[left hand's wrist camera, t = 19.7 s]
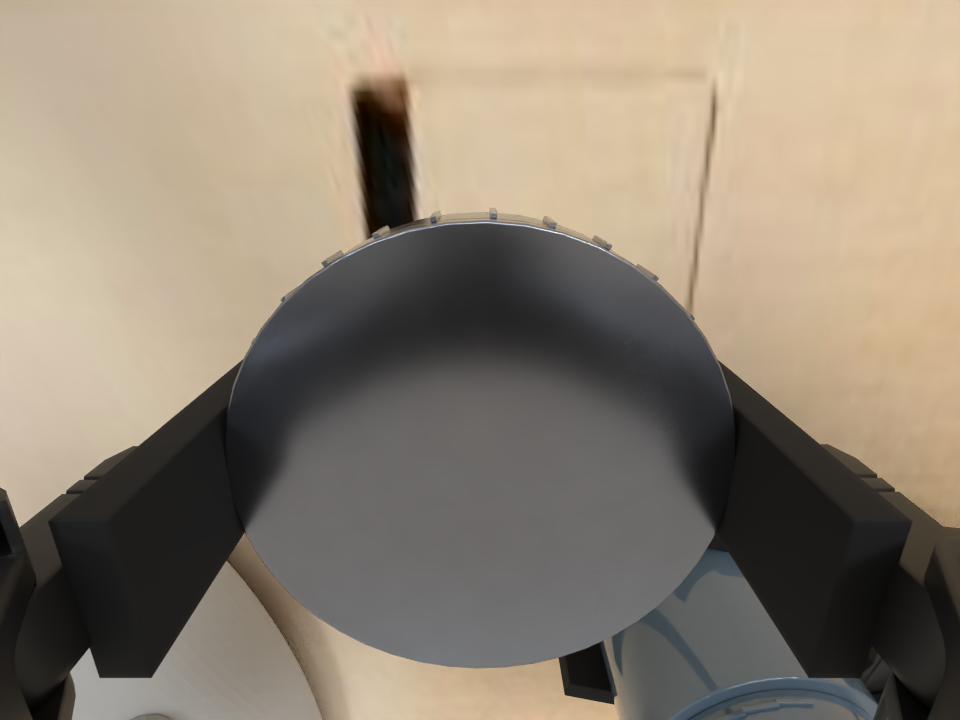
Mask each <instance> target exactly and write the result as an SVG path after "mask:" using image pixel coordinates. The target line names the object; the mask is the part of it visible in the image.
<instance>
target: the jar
mask: <svg viewBox="0 0 960 720" xmlns="http://www.w3.org/2000/svg"><path fill="white" fill-rule="evenodd" d="M599 644H600V648H601V652H602V656H603V660H604V664H605V668H606V672H607V676H608V680H609V684H610V688H611V692H612V695H613V699H614V703H615V707H616V711H617V715H618V719H619V720H873V718H874V716H875V713H876V710H877V707H878V702H877V701H876V699H875V698H874V697H873V695H872V694H871V693H870V691H869V690H868V689H867V687H866V686H865V685H864V683H863V682H862V680H861V679H860V678H808V676H807V674H806V673H805V671H804V670H803V668H802V667H801V665H800V663H799V662H798V660H797V659H796V657H795V656H794V654H793V653H792V651H791V649H790V648H789V646H788V645H787V643H786V642H785V640H784V638H783V637H782V635H781V634H780V632H779V631H778V629H777V627H776V626H775V624H774V623H773V621H772V620H771V618H770V616H769V615H768V613H767V612H766V610H765V609H764V607H763V605H762V604H761V602H760V601H759V599H758V598H757V596H756V594H755V593H754V591H753V590H752V588H751V587H750V585H749V583H748V582H747V580H746V579H745V577H744V576H743V574H742V573H741V571H740V569H739V568H738V566H737V565H736V563H735V562H734V560H733V558H732V557H731V555H730V554H729V552H725V551H721V550H716V549H712V548H708V547H707V549H706V550H705V552H704V554H703V555H702V557H701V559H700V560H699V562H698V563H697V565H696V566H695V567H694V568H693V569H692V571H691V572H690V573H689V574H688V576H687V577H686V578H685V579H684V581H683V582H682V583H681V584H680V585H679V586H678V587H677V588H676V589H675V590H674V591H673V592H672V593H671V594H670V595H669V596H668V597H667V598H666V599H665V600H664V601H663V602H662V603H661V604H660V605H658V606H657V607H656V608H654V609H653V610H652V611H650V612H649V613H648V614H646V615H645V616H644V617H642V618H641V619H640V620H639V621H637V622H636V623H634V624H632V625H631V626H629V627H627V628H626V629H624V630H622V631H621V632H619V633H617V634H616V635H614V636H612V637H610V638H608V639H605V640H603V641H601V642H599Z"/></svg>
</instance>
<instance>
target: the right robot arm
mask: <svg viewBox="0 0 960 720" xmlns="http://www.w3.org/2000/svg"><path fill="white" fill-rule="evenodd" d="M944 528H946V529H947V530H948V531H949V532H951V533H952V534H953V535H960V528H951V527H944ZM708 548H712V549H716V550H721V551H725V552H728V551H727V549H726V547H725V546H724V544H723V543H722V541H721V540H720V538H719V536H718V535H717V533H715V535H714V537H713V539H712V541H711V542H710V544H709V546H708ZM559 662H560V668H561V674H562V680H563V686H564V692H565V695H567V696H573V697H578V698H583V699H588V700H594V701H599V702H604V703H609V704H615V703H614V699H613V695H612V692H611V688H610V684H609V680H608V676H607V672H606V668H605V664H604V660H603V656H602V652H601V648H600V644H599V643H597V644H595V645H592V646H590V647H588V648H586V649H583V650H580V651H577V652H574V653H571V654H568V655H565V656H562V657H559ZM890 670H891V669H890V668H889V666H888V665H887V664H886V663H885V661H884V660H883V659H882V658H881V656H880V655H879V654H878V653H877V652H876V650H875V649H874V648H873V647H872V646H871V649H870V652H869V655H868V658H867V661H866V664H865V667H864V670H863V673H862V676H861V678H860V679H861V680H862V682H863V683H864V685H865V686H866V687H867V689H868V690H869V691H870V693H871V694H872V695H873V697H874V698H875V699H876V701H877V702H878V704H879V701H880V699H881V696H882V693H883V690H884V687H885V685H886V682H887V679H888V676H889V673H890Z"/></svg>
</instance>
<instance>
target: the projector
mask: <svg viewBox="0 0 960 720" xmlns="http://www.w3.org/2000/svg"><path fill="white" fill-rule="evenodd" d="M70 673H71V676H72V679H73V682H74V686H75V693H76V698H75V704H74V710H73V715H72V720H323V719H322V716H321V713H320V710H319V708H318V705H317V703H316V700H315V697H314V695H313V692H312V690H311V688H310V686H309V684H308V681H307V679H306V677H305V675H304V673H303V671H302V669H301V667H300V665H299V663H298V661H297V659H296V658H295V656H294V654H293V652H292V651H291V649H290V647H289V645H288V644H287V642H286V640H285V639H284V637H283V635H282V634H281V632H280V631H279V629H278V628H277V626H276V624H275V623H274V621H273V620H272V618H271V617H270V615H269V614H268V613H267V611H266V610H265V608H264V607H263V605H262V604H261V603H260V601H259V600H258V598H257V597H256V596H255V595H254V593H253V592H252V591H251V589H250V588H249V587H248V585H247V584H246V583H245V581H244V580H243V579H242V578H241V577H240V576H239V574H238V573H237V572H236V571H235V570H234V568H233V567H232V566H231V565H230V564H229V563H228V562H227V561H226V562H225V564H224V565H223V567H222V568H221V570H220V571H219V573H218V575H217V576H216V578H215V579H214V581H213V582H212V584H211V586H210V587H209V589H208V590H207V592H206V593H205V595H204V597H203V598H202V600H201V601H200V603H199V604H198V606H197V608H196V609H195V611H194V612H193V614H192V615H191V617H190V619H189V620H188V622H187V623H186V625H185V626H184V628H183V630H182V631H181V633H180V634H179V636H178V637H177V639H176V641H175V642H174V644H173V645H172V647H171V648H170V650H169V652H168V653H167V655H166V656H165V658H164V659H163V661H162V663H161V664H160V666H159V667H158V669H157V670H156V672H155V673H154V675H153V677H152V678H99V675H98V672H97V669H96V666H95V663H94V660H93V657H92V654H91V651H90V648H89V649H88V650H87V651H86V653H85V654H84V655H83V656H82V658H81V659H80V660H79V661H78V663H77V664H76V665H75V666H74V668H73V669H72V670H71V671H70Z"/></svg>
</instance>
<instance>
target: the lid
mask: <svg viewBox="0 0 960 720" xmlns="http://www.w3.org/2000/svg"><path fill="white" fill-rule="evenodd" d="M372 236H373V237H372V238H370V239H368V240H366V241H364V242H362V243H360V244H358V245H357V246H355V247H354V248H352V249H351V250H349V251H348V252H346V253H345V254H343V252H342V251H341V250H340V251H339V252H337V253H336V254H334V255H332V256H331V257H329V258H328V259H326V260H324V261H323V262H322V265H323V266H324V268H322V269H321V270H320V271H318V272H317V273H315V274H314V275H312V276H311V277H309V278H308V279H307V280H306V281H305V282H304V283H302V284H301V285H300V286H298V287H297V288H295V289H294V290H292V291H291V292H290V293H288V294H287V295H285V296H284V297H283V298H282V299H281V301H282V303H281V304H280V306H279V307H278V308H277V309H276V311H275V312H274V313H273V314H272V316H271V317H270V318H269V319H268V320H267V322H266V323H265V324H264V325H263V327H262V328H261V329H260V331H259V333H258V335H257V336H256V338H255V339H254V340H253V342H252V345H251V347H250V348H249V350H248V352H247V354H246V355H245V357H244V360H243V362H242V365H241V367H240V370H239V372H238V375H237V377H236V380H235V383H234V385H233V389H232V393H231V398H230V402H229V407H228V411H227V416H226V431H225V446H224V448H225V459H226V466H227V472H228V478H229V483H230V488H231V493H232V498H233V503H234V506H235V509H236V511H237V514H238V516H239V519H240V521H241V524H242V526H243V529H244V531H245V533H246V535H247V537H248V538H249V540H250V542H251V544H252V546H253V547H254V549H255V551H256V553H257V554H258V556H259V557H260V559H261V560H262V561H263V563H264V564H265V565H266V567H267V568H268V569H269V571H270V572H271V573H272V575H273V576H274V577H275V579H276V580H277V581H278V582H279V583H280V584H281V585H282V586H283V587H284V588H285V589H286V590H287V591H288V592H289V593H290V594H291V595H292V596H293V597H294V598H295V599H296V600H297V601H298V602H300V603H301V604H302V605H303V606H304V607H306V608H307V609H308V610H309V611H311V612H312V613H313V614H314V615H315V616H317V617H318V618H320V619H321V620H323V621H324V622H326V623H327V624H329V625H331V626H332V627H334V628H335V629H337V630H338V631H340V632H342V633H344V634H346V635H348V636H350V637H352V638H354V639H356V640H358V641H360V642H362V643H364V644H366V645H368V646H371V647H374V648H376V649H379V650H381V651H384V652H387V653H389V654H392V655H396V656H399V657H403V658H407V659H411V660H414V661H418V662H423V663H430V664H436V665H442V666H449V667H464V668H499V667H511V666H518V665H526V664H533V663H537V662H542V661H546V660H550V659H555V658H559V657H562V656H565V655H568V654H571V653H574V652H577V651H580V650H583V649H586V648H588V647H590V646H592V645H595V644H597V643H599V642H601V641H603V640H605V639H608V638H610V637H612V636H614V635H616V634H617V633H619V632H621V631H622V630H624V629H626V628H627V627H629V626H631V625H632V624H634V623H636V622H637V621H639V620H640V619H641V618H642V617H644V616H645V615H646V614H648V613H649V612H650V611H652V610H653V609H654V608H656V607H657V606H658V605H660V604H661V603H662V602H663V601H664V600H665V599H666V598H667V597H668V596H669V595H670V594H671V593H672V592H673V591H674V590H675V589H676V588H677V587H678V586H679V585H680V584H681V583H682V582H683V581H684V579H685V578H686V577H687V576H688V574H689V573H690V572H691V571H692V569H693V568H694V567H695V566H696V565H697V563H698V562H699V560H700V559H701V557H702V555H703V554H704V552H705V550H706V549H707V547H708V546H709V544H710V542H711V541H712V539H713V537H714V535H715V533H716V530H717V528H718V526H719V524H720V521H721V519H722V517H723V515H724V512H725V509H726V505H727V501H728V496H729V491H730V486H731V481H732V475H733V470H734V464H735V458H736V425H735V419H734V413H733V408H732V402H731V396H730V393H729V390H728V387H727V384H726V381H725V378H724V375H723V372H722V369H721V366H720V364H719V362H718V360H717V358H716V356H715V354H714V353H713V351H712V349H711V347H710V345H709V343H708V341H707V339H706V337H705V336H704V334H703V333H702V332H701V330H700V329H699V328H698V326H697V325H696V323H695V322H694V321H693V320H694V317H693V316H692V314H690V313H689V312H687V311H686V310H685V309H684V308H683V307H682V306H681V305H680V304H679V303H678V302H677V301H676V300H675V299H674V298H673V297H672V296H671V295H670V294H669V293H668V292H667V291H666V290H665V289H664V288H663V287H662V286H661V285H660V284H659V283H657V282H656V281H657V280H658V279H659V278H658V277H657V276H656V275H654V274H653V273H651V272H650V271H648V270H647V269H645V268H643V267H642V266H640V265H639V264H638V265H637V266H635V265H633V264H632V263H631V262H629V261H627V260H626V259H625V258H623V257H621V256H620V255H618V254H617V253H615V252H614V251H612V250H611V247H612V245H611V244H609V243H607V242H606V241H604V240H603V239H601V238H599V237H597V236H596V235H595V236H594V237H593V240H592V239H591V238H589V237H587V236H585V235H583V234H581V233H578V232H576V231H573V230H570V229H568V228H565V227H562V226H560V225H557V223H556V222H555V221H553V220H552V219H551V218H550V217H547V216H544V218H543V220H538V219H534V218H529V217H525V216H521V215H511V214H500V213H497V212H496V209H495V208H490V213H489V212H480V213H458V214H448V215H443V216H441V212H440V211H437V212H434V213H433V214H432V215H431V217H430V218H426V219H421V220H417V221H414V222H411V223H408V224H405V225H402V226H399V227H396V228H393V229H390V230H389V227H388V226H385V227H382V228H381V229H379V230H378V231H376V232H375V233H373V234H372Z"/></svg>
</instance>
